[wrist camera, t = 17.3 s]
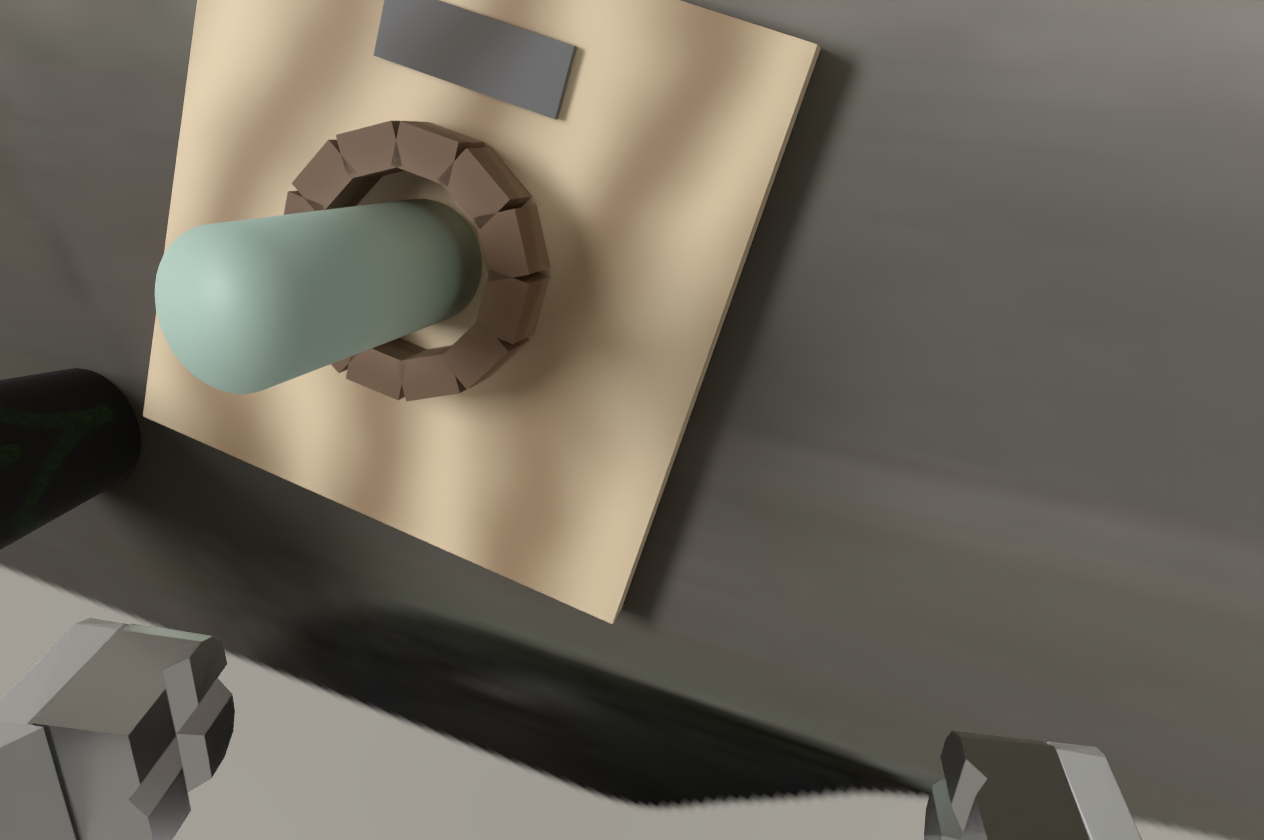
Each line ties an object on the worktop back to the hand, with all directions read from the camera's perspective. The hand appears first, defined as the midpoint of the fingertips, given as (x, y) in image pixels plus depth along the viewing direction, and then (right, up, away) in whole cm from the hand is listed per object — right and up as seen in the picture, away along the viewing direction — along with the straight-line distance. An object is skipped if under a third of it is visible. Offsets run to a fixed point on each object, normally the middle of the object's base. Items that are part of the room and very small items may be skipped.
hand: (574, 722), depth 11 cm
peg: (-7, +9, +25) cm, 27 cm away
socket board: (-7, +10, +26) cm, 28 cm away
